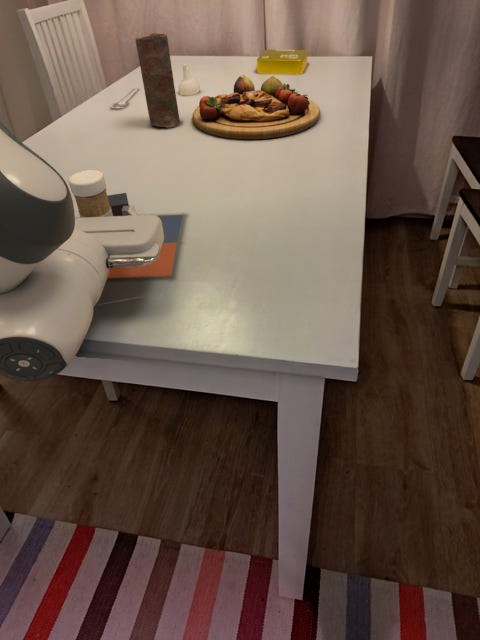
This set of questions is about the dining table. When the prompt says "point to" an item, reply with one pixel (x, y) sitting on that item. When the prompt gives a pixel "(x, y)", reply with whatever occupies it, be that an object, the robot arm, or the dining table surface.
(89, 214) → the sprinkles bottle
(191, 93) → the garlic bulb
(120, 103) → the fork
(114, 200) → the black block
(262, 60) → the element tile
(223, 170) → the dining table surface
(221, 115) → the wooden plate
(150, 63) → the brown rough pillar
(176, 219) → the sorting board
